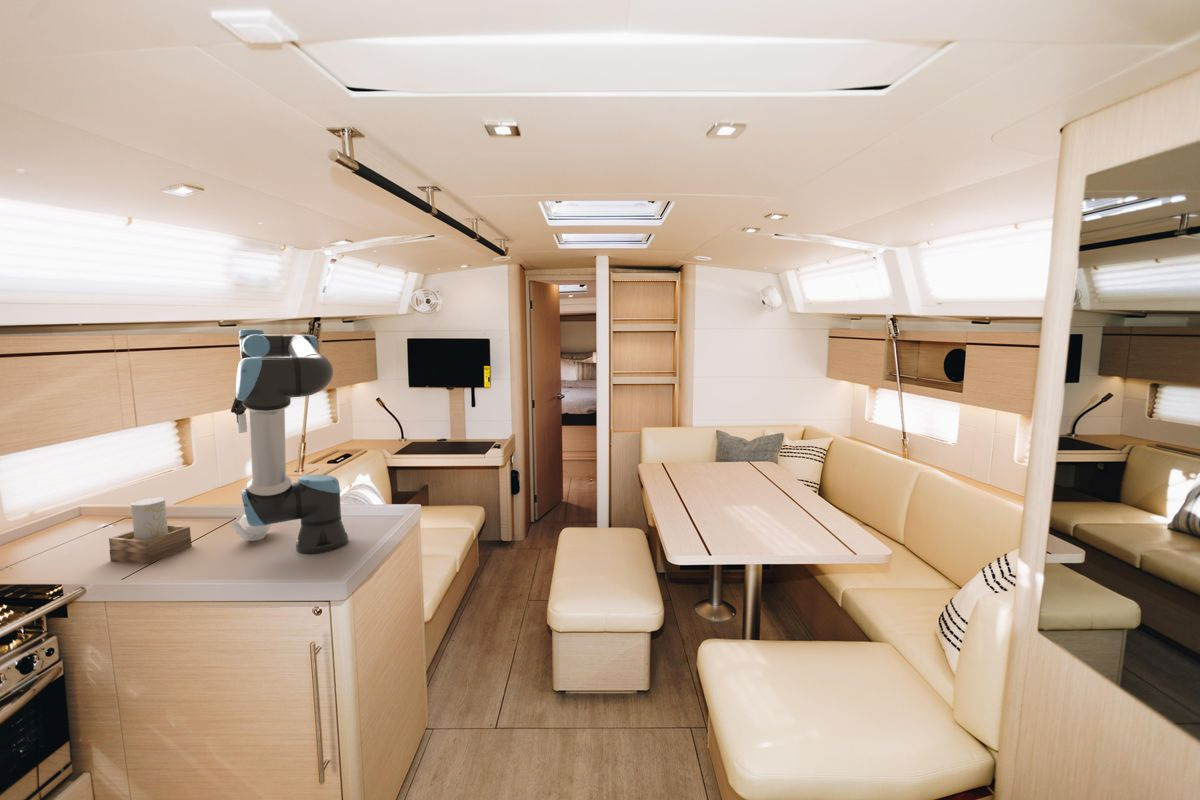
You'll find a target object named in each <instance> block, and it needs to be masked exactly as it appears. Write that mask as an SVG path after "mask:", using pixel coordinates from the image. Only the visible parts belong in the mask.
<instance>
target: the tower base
mask: <svg viewBox="0 0 1200 800" xmlns="http://www.w3.org/2000/svg"><path fill="white" fill-rule="evenodd" d="M192 545H193V544H192V537H190V538H187V539H184V540H182V541H179V542H176V543H173V544H171V545H168V546H165V547H162V548H160V549H157V550H154V551H151V552H149V553H137V552H128V551H119V550H110V549H109V559H110V562H121V563H134V564H135V563H137V564H151V563H154V562H157V561H159V560H162V559H164V558H166V557H170V556H171V555H173V554H176V553H178V552H180V551H183V550H185V549H189V548H190V547H192Z"/></svg>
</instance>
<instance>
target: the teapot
mask: <svg viewBox="0 0 1200 800" xmlns="http://www.w3.org/2000/svg"><path fill="white" fill-rule="evenodd" d="M231 524H232V526H233V530H234V531H235V532H236V534H237V535H238V537H240V538H241V539H244V540H248V541H254V542H255V541H259V540H262V539H264V538H265V537H266V534H267V533H268V531H270V529H271V527H272V524H268V525H266V526H265V525H261V526H251V525H249V524H248V521H247V518H246V514H245V513H244V514H242V516H241V517H240V519H239V521H238V520H237V521H233V522H231Z"/></svg>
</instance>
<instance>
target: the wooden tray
mask: <svg viewBox="0 0 1200 800" xmlns="http://www.w3.org/2000/svg"><path fill="white" fill-rule="evenodd" d="M167 527H168V533H167V534H164V535H161V536H158V537H155V538H152V539H149V540H147V541H143V540H135V539H134V530H131V531H127V532H124V533H121V534H119V535H116V536H111V537H109V538H108V543H109V551H110V550H119V551H128V552H137V553H149V552H151V551H154V550H157V549H160V548H162V547H165V546H168V545H171V544H173V543H176V542H179V541H182V540H184V539H187V538H190V537H191V526H187V525H178V524H177V525H175V524H167ZM191 538H192V537H191Z"/></svg>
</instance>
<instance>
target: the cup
mask: <svg viewBox="0 0 1200 800" xmlns="http://www.w3.org/2000/svg"><path fill="white" fill-rule="evenodd" d="M130 507H131V516H132V517H131V519H132V526H133V531H134V539H135V540H143V541H147V540H149V539H152V538H155V537H158V536H161V535H164V534H167V533H168V527H167V525H168V519H167V518H168V516H167V506H166V498H164V497H152V498H151V497H150V498H145V499H144V498H143V499H140V500H136V501H133V502H131V503H130Z"/></svg>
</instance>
